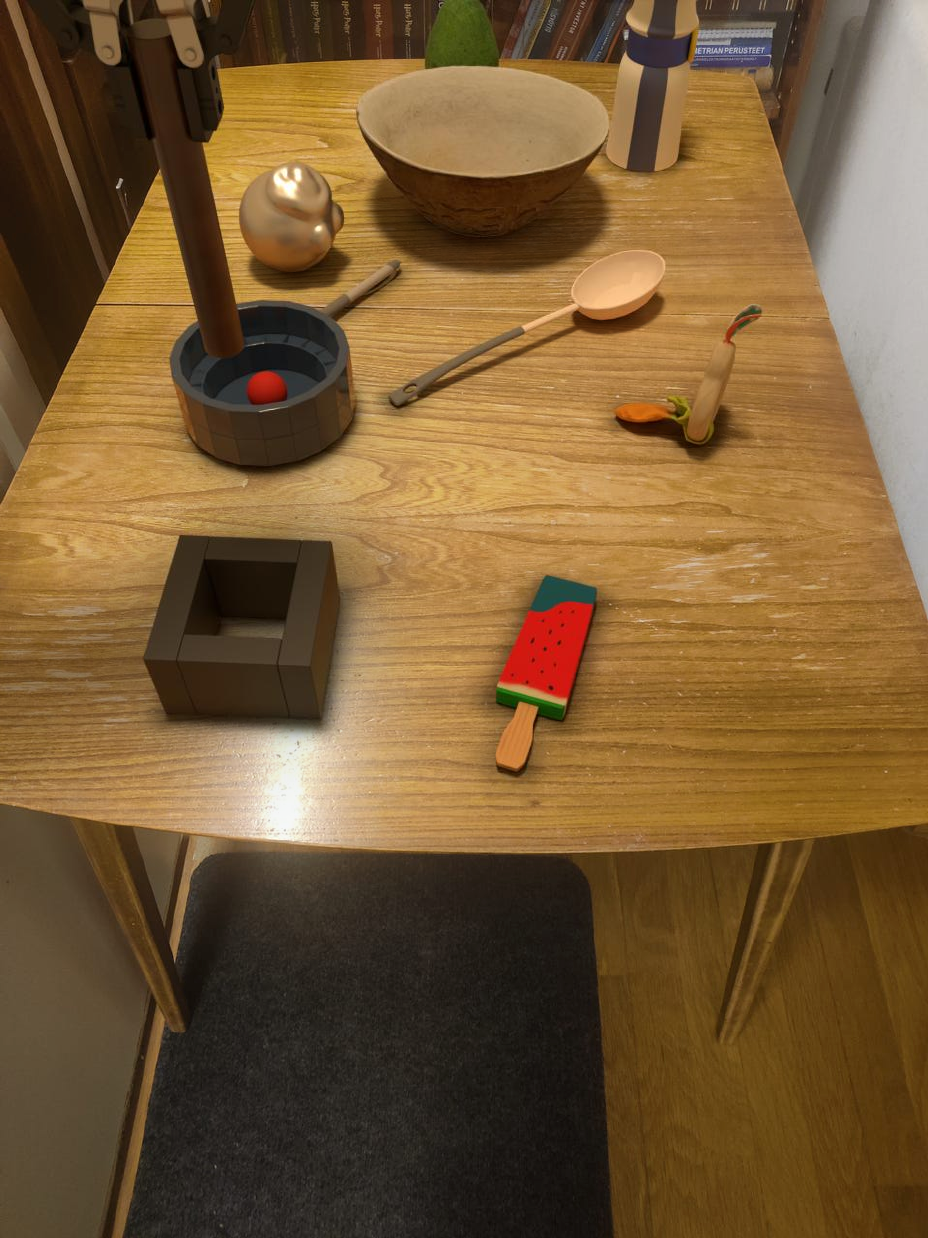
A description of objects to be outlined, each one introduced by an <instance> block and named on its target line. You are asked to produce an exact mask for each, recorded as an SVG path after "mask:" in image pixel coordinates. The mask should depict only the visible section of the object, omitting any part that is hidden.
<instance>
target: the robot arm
mask: <svg viewBox="0 0 928 1238" xmlns="http://www.w3.org/2000/svg"><path fill="white" fill-rule="evenodd" d="M24 1H25V2H26V4H27V5H28V6H29V8H30V9H31V10H32V11H33V13H34V14H35V16H36V17H37V18H38V19H39V21H40V22H41V23H42V25H43V26H44V28H45V29H46V30H47V32H49V34H50V35H51V37H52V38H53V39H54V41H55V42H56V43H57V44H58V45H59V46H60V47H61V48H63V49H66V50H69V51H70V50H74V49H77V48H79V49H81V50H83V51H86V52H89V53H91V54H93V55H94V56H96V57H97V58H98V60H99V61H100V62H101V64H102V66H103V69H104V72H105V76H106V80H107V83H108V87H109V91H110V94H111V97H112V102H113V106H114V109H115V113H116V116H117V117H116V118H117V119H118V120H119V122H120V124H121V125H122V127H123V128H124V129H131V135H132V136H133V139H134V140H135V141H148V142H150V141H152V140H153V139H152V135H151V131H150V127H149V123H148V119H147V115H146V111H145V107H144V102H143V98H142V94H141V90H140V86H139V82H138V78H137V74H136V70H135V66H134V62H133V58H132V54H131V50H130V46H129V42H128V38H127V34H126V31H127V28H128V27H129V26H130V25H132V24H134V23H135V22H134V17H133V8H132V0H24ZM155 1H156V5H157V8H158V11H159V13H160V15H161V16H163V17H164V19H166V20H167V22H168V26H169V29H170V32H171V35H172V38H173V41H174V44H175V47H176V50H177V53H178V56H179V58H180V60H181V62H180V63H179V65H178V67H177V72H178V77H179V82H180V86H181V91H182V95H183V100H184V105H185V109H186V114H187V118H188V123H189V128H190V132H191V137H192V140H193V142H201V143H204V144H205V143H206V144H208V143H210V141H211V138H212V136H213V134H214V132H217V130H218V128H219V125H220V124H221V121H222V119H223V115H224V111H225V103H224V99H223V93H222V88H221V83H220V78H219V72H218V67H217V61H216V57H217V56H219V55H226V56H231V55H234V54H235V53H237V51H238V50H239V48H240V45H241V42H242V39H243V36H244V35H245V33H247V30H248V28H249V25H250V22H251V19H252V16H253V13H254V9H255V7H256V3H257V0H222V2H221V5H220V9H219V11H218V12H217V13H215V14H211V15H210V12H209V8H208V4H207V1H206V0H155Z"/></svg>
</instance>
